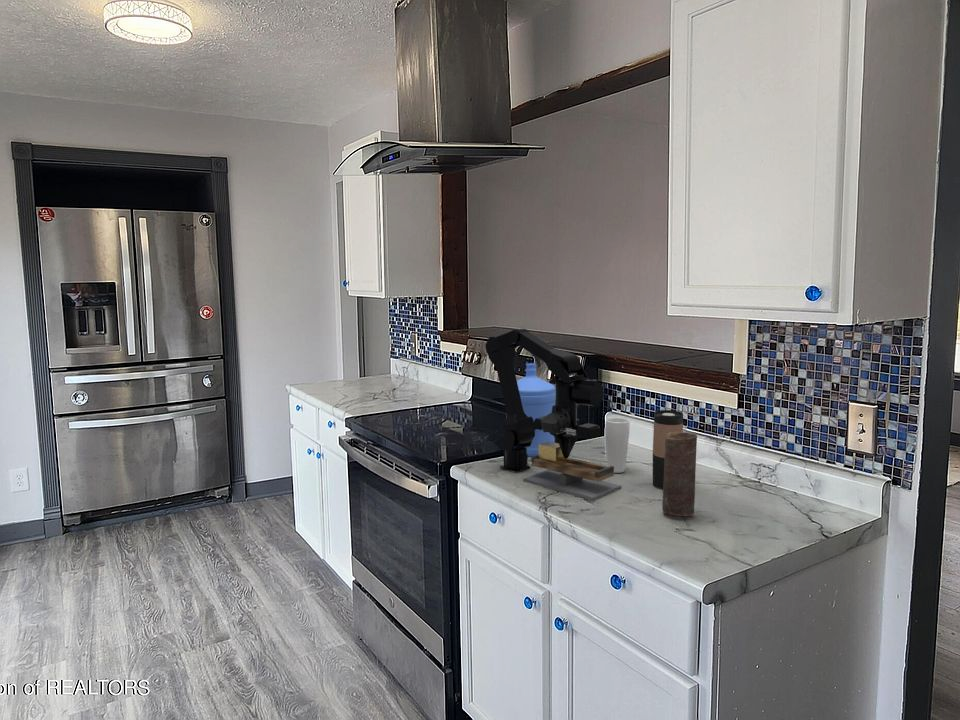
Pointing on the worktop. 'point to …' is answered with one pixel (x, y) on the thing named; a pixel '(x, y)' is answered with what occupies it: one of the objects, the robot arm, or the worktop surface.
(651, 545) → the worktop surface
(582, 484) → the stand
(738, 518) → the worktop surface
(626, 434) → the drinking glass
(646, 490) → the worktop surface
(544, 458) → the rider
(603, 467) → the beam
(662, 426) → the travel mug
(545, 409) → the water jug
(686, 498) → the candle
